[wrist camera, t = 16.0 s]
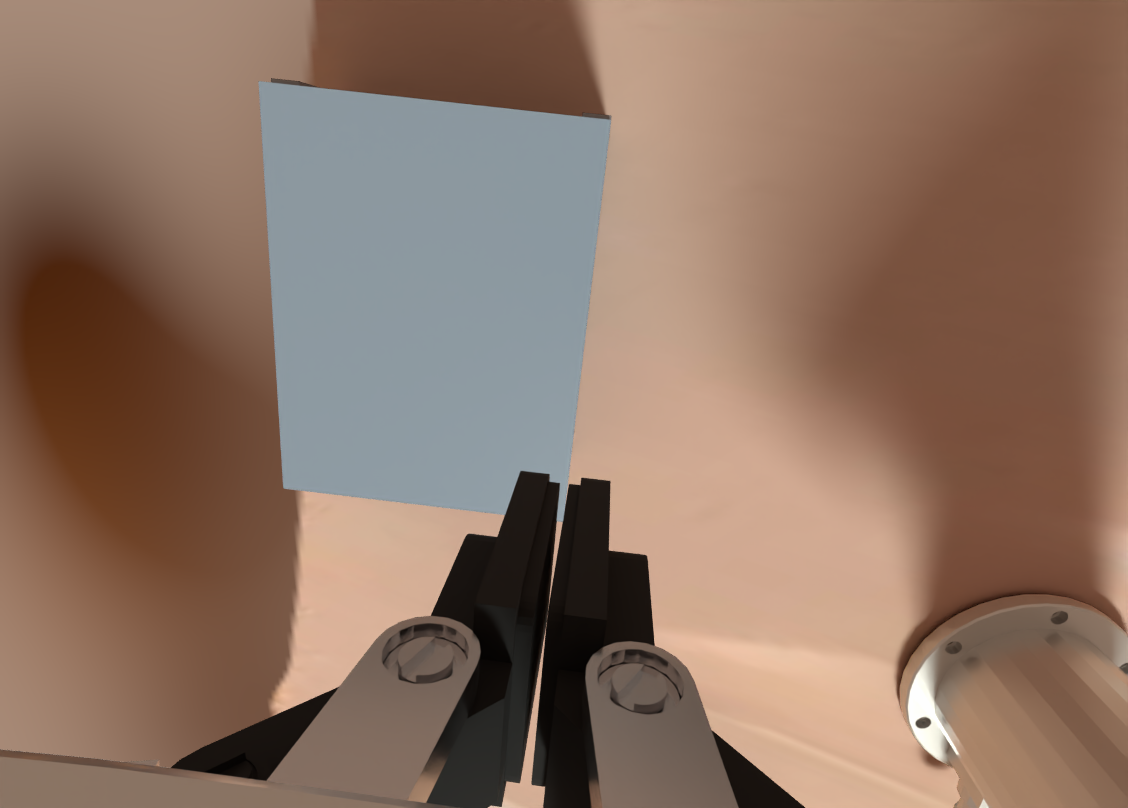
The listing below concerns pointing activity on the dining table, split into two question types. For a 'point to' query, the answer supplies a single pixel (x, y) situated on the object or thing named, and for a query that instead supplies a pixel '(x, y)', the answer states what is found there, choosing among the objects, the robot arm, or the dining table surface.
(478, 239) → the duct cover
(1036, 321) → the dining table surface
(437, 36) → the dining table surface
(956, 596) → the dining table surface
